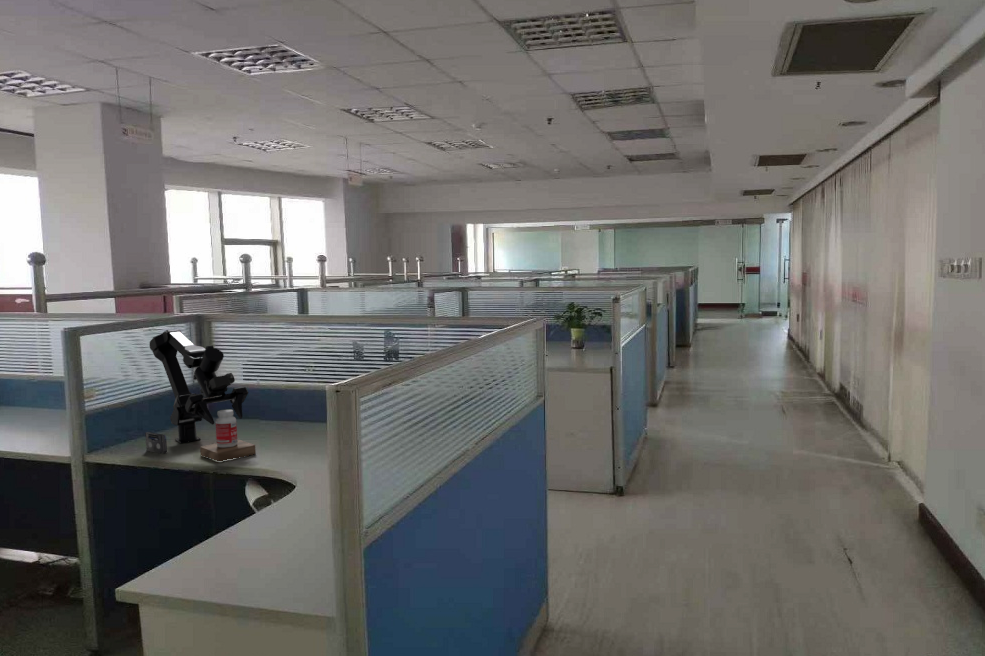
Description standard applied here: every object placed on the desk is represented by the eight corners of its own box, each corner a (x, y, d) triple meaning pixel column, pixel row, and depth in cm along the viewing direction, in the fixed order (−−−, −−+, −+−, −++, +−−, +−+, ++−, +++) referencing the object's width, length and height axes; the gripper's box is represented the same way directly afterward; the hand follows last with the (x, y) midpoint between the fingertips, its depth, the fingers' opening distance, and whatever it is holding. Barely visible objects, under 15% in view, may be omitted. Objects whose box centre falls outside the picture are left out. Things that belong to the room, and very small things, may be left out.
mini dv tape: (167, 452, 232) (165, 434, 231) (163, 454, 230) (161, 435, 230) (150, 449, 236) (149, 431, 235) (146, 451, 234) (145, 432, 234)
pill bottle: (234, 447, 224) (232, 412, 223) (214, 448, 223) (212, 413, 222) (240, 442, 230) (237, 408, 229) (220, 443, 230) (217, 409, 228)
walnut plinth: (200, 456, 227) (200, 446, 226) (236, 447, 235) (236, 438, 235) (219, 463, 219) (218, 453, 218) (255, 454, 227) (255, 445, 227)
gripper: (186, 369, 220) (205, 410, 214) (243, 361, 233) (263, 400, 227) (176, 392, 226) (195, 432, 220) (233, 383, 240) (252, 420, 233)
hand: (227, 420), depth 225 cm, fingers open, 9 cm apart
